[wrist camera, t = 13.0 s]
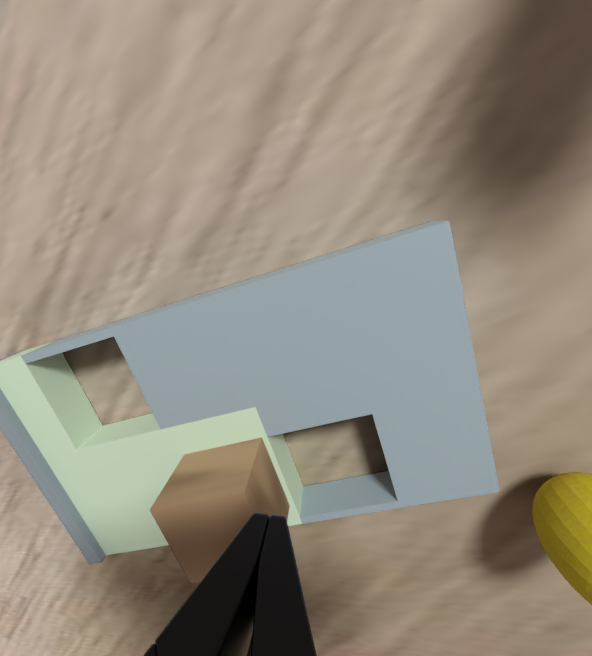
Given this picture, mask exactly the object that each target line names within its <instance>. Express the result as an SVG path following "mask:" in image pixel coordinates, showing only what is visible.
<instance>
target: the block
mask: <svg viewBox="0 0 592 656" xmlns="http://www.w3.org/2000/svg"><path fill="white" fill-rule="evenodd" d="M289 506H290V505H289V502H288V500H287V497H286V495H285V493H284V490H283V488H282V485H281V483H280V480H279V478H278V476H277V473H276V471H275V468H274V466H273V463H272V461H271V458H270V456H269V454H268V451H267V449H266V446H265V444H264V441H263V439H262V437H261V438H257V439H252V440H248V441H243V442H239V443H234V444H230V445H225V446H221V447H216V448H211V449H207V450H202V451H198V452H193V453H189V454H184V456H183V457H182V459H181V460H180V462H179V464H178V465H177V467H176V468H175V470H174V472H173V473H172V475H171V476H170V478H169V480H168V481H167V483H166V484H165V486H164V488H163V489H162V491H161V492H160V494H159V496H158V497H157V499H156V500H155V502H154V504H153V505H152V507H151V508H150V512H151V514H152V516H153V517H154V519H155V521H156V523H157V525H158V526H159V528H160V530H161V532H162V534H163V535H164V537H165V539H166V541H167V543H168V544H169V546H170V548H171V550H172V551H173V553H174V555H175V557H176V559H177V560H178V562H179V564H180V566H181V568H182V569H183V571H184V573H185V575H186V577H187V578H188V580H189V582H190V583H197V582H201V580H202V579H203V578H204V577H205V575H206V574H207V573H208V571H209V570H210V569H211V567H212V566H213V565H214V564H215V562H216V561H217V560H218V558H219V557H220V556H221V555H222V553H223V552H224V551H225V549H226V548H227V547H228V545H229V544H230V543H231V542H232V540H233V539H234V538H235V536H236V535H237V534H238V532H239V531H240V530H241V529H242V527H243V526H244V525H245V523H246V522H247V521H248V519H249V518H250V517H251V516H252V514H253V513H255V512H258V513H266V514H268V515H269V516H271V515H272V514H274V515H282V516H285V517H286V520H288V513H289Z"/></svg>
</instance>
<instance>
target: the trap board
mask: <svg viewBox="0 0 592 656" xmlns="http://www.w3.org/2000/svg"><path fill="white" fill-rule="evenodd" d="M111 337H114V338H115V340H116V342H117V344H118V346H119V348H120V350H121V352H122V354H123V356H124V358H125V360H126V362H127V364H128V366H129V368H130V370H131V371H132V373H133V375H134V377H135V379H136V381H137V383H138V385H139V387H140V389H141V391H142V393H143V395H144V397H145V399H146V401H147V403H148V405H149V407H150V409H151V411H152V414H148V415H144V416H140V417H136V418H132V419H128V420H124V421H120V422H116V423H112V424H108V425H104V426H103V425H102V423H101V422H100V420H99V418H98V416H97V414H96V413H95V411H94V409H93V407H92V405H91V404H90V402H89V400H88V398H87V396H86V395H85V393H84V391H83V389H82V387H81V386H80V384H79V382H78V380H77V378H76V377H75V375H74V373H73V371H72V369H71V368H70V366H69V364H68V362H67V361H66V359H65V357H64V355H63V353H62V352H65V351H68V350H72V349H75V348H78V347H81V346H85V345H88V344H91V343H94V342H98V341H101V340H104V339H107V338H111ZM370 414H372V415H373V418H374V422H375V425H376V429H377V432H378V435H379V439H380V442H381V446H382V449H383V452H384V456H385V459H386V463H387V466H388V469H389V471H385V472H379V473H374V474H369V475H363V476H358V477H352V478H347V479H341V480H336V481H330V482H325V483H320V484H314V485H309V486H303V485H302V482H301V480H300V477H299V474H298V472H297V469H296V467H295V464H294V461H293V459H292V456H291V454H290V451H289V449H288V446H287V443H286V441H285V438H284V436H283V433H288V432H292V431H297V430H302V429H306V428H311V427H315V426H320V425H324V424H329V423H334V422H338V421H343V420H347V419H352V418H357V417H361V416H366V415H370ZM0 429H1V431H2V432H3V434H4V435H5V437H6V438H7V440H8V441H9V443H10V444H11V446H12V447H13V449H14V450H15V452H16V453H17V455H18V456H19V458H20V459H21V461H22V463H23V464H24V466H25V467H26V469H27V470H28V472H29V473H30V475H31V476H32V478H33V479H34V481H35V482H36V484H37V485H38V487H39V488H40V490H41V491H42V493H43V494H44V496H45V498H46V499H47V501H48V502H49V504H50V505H51V507H52V508H53V510H54V511H55V513H56V514H57V516H58V517H59V519H60V520H61V522H62V523H63V525H64V526H65V528H66V529H67V531H68V533H69V534H70V536H71V537H72V539H73V540H74V542H75V543H76V545H77V546H78V548H79V549H80V551H81V552H82V554H83V555H84V557H85V558H86V560H87V561H88V563H89V564H94V563H100V562H102V561H103V559H104V558H105V556H106V555H111V554H117V553H124V552H130V551H136V550H142V549H148V548H155V547H161V546H167V545H169V544H168V543H167V541H166V539H165V537H164V535H163V534H162V532H161V530H160V528H159V526H158V525H157V523H156V521H155V519H154V517H153V516H152V514H151V512H150V508H151V507H152V505H153V504H154V502H155V500H156V499H157V497H158V496H159V494H160V492H161V491H162V489H163V488H164V486H165V484H166V483H167V481H168V480H169V478H170V476H171V475H172V473H173V472H174V470H175V468H176V467H177V465H178V464H179V462H180V460H181V459H182V457H183V456H184V454H189V453H193V452H198V451H202V450H207V449H211V448H216V447H221V446H225V445H230V444H234V443H239V442H243V441H248V440H252V439H257V438H261V437H262V439H263V441H264V444H265V446H266V449H267V451H268V454H269V456H270V458H271V461H272V463H273V466H274V468H275V471H276V473H277V476H278V478H279V480H280V483H281V485H282V488H283V490H284V493H285V495H286V497H287V500H288V502H289V505H290V506H289V513H288V520H287V524H288V526H291V525H297V524H303V523H310V522H316V521H322V520H328V519H334V518H341V517H347V516H353V515H359V514H365V513H372V512H378V511H384V510H390V509H396V508H403V507H409V506H415V505H421V504H427V503H434V502H440V501H446V500H452V499H458V498H465V497H471V496H477V495H483V494H489V493H496V492H500V490H499V485H498V480H497V474H496V469H495V464H494V458H493V453H492V447H491V442H490V437H489V431H488V426H487V420H486V415H485V410H484V404H483V399H482V394H481V388H480V383H479V377H478V372H477V367H476V361H475V356H474V350H473V345H472V340H471V334H470V329H469V324H468V318H467V313H466V307H465V302H464V297H463V291H462V286H461V281H460V275H459V270H458V264H457V259H456V254H455V248H454V243H453V237H452V232H451V227H450V221H434V220H433V221H430V222H426V223H423V224H420V225H417V226H414V227H411V228H408V229H404V230H401V231H398V232H395V233H392V234H389V235H386V236H382V237H379V238H376V239H373V240H370V241H367V242H364V243H361V244H357V245H354V246H351V247H348V248H345V249H342V250H339V251H335V252H332V253H329V254H326V255H323V256H320V257H317V258H313V259H310V260H307V261H304V262H301V263H298V264H295V265H291V266H288V267H285V268H282V269H279V270H276V271H273V272H269V273H266V274H263V275H260V276H257V277H254V278H251V279H248V280H244V281H241V282H238V283H235V284H232V285H229V286H226V287H222V288H219V289H216V290H213V291H210V292H207V293H204V294H200V295H197V296H194V297H191V298H188V299H185V300H182V301H178V302H175V303H172V304H169V305H166V306H163V307H160V308H156V309H153V310H150V311H147V312H144V313H141V314H138V315H135V316H131V317H128V318H125V319H122V320H119V321H116V322H113V323H109V324H106V325H103V326H100V327H97V328H94V329H91V330H87V331H84V332H81V333H78V334H75V335H72V336H69V337H65V338H62V339H59V340H56V341H53V342H50V343H47V344H44V345H40V346H37V347H34V348H31V349H28V350H25V351H22V352H18V353H15V354H12V355H10V356H7V357H5V358H3V359H0Z"/></svg>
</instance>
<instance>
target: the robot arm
mask: <svg viewBox="0 0 592 656" xmlns="http://www.w3.org/2000/svg"><path fill="white" fill-rule="evenodd" d="M143 656H317V655H316V651H315V646H314V642H313V637H312V633H311V628H310V624H309V619H308V615H307V610H306V606H305V601H304V597H303V592H302V587H301V583H300V578H299V574H298V569H297V565H296V560H295V556H294V551H293V547H292V542H291V538H290V533H289V529H288V524H287V520H286V517H285V516H282V515H274V514H272V515H271V516H269V515H268V514H266V513H258V512H255V513H253V514H252V516H251V517H250V518H249V519H248V521H247V522H246V523H245V525H244V526H243V527H242V529H241V530H240V531H239V532H238V534H237V535H236V536H235V538H234V539H233V540H232V542H231V543H230V544H229V545H228V547H227V548H226V549H225V551H224V552H223V553H222V555H221V556H220V557H219V558H218V560H217V561H216V562H215V564H214V565H213V566H212V567H211V569H210V570H209V571H208V573H207V574H206V575H205V577H204V578H203V579H202V580H201V582H200V583H199V584H198V586H197V587H196V588H195V590H194V591H193V592H192V593H191V595H190V596H189V597H188V599H187V600H186V601H185V603H184V604H183V605H182V606H181V608H180V609H179V610H178V612H177V613H176V614H175V616H174V617H173V618H172V619H171V621H170V622H169V623H168V625H167V626H166V627H165V628H164V630H163V631H162V632H161V634H160V635H159V636H158V638H157V639H156V641H155V644H152V645H151V646H150V648H149V649H148V650H147V652H146V653H145V654H144V655H143Z"/></svg>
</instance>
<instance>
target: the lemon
mask: <svg viewBox="0 0 592 656" xmlns="http://www.w3.org/2000/svg"><path fill="white" fill-rule="evenodd" d="M532 517H533V522H534V526H535V529H536V532H537V535H538V538H539V540H540V543H541V545H542V547H543V548H544V550H545V552H546V554H547V555H548V557H549V558H550V560H551V561H552V562H553V564H554V565H555V566H556V568H557V569H558V570H559V572H560V573H561V574H562V575H563V577H564V578H565V579H566V580H567V581H568V582H569V584H570V585H571V586H572V587H573V588H574V589H575V590H576V591H577V592H578V593H579V594H580V595H581V596H582V597H583V598H584V599H586V600H587V601H588V602H589V603H590V604H592V474H590V473H581V472H572V473H563V474H560V475H557V476H554V477H552V478H550V479H548V480H547V481H546V482H545V483H544V484H542V486H541V487H540V488H539V490H538V491H537V493H536V495H535V498H534V501H533V511H532Z"/></svg>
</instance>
